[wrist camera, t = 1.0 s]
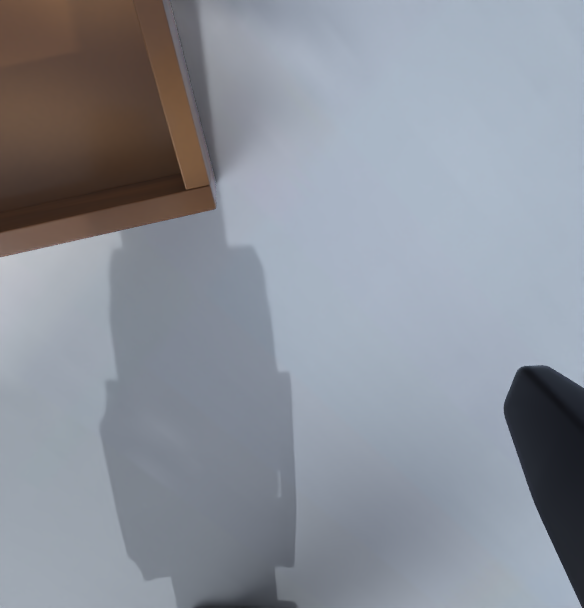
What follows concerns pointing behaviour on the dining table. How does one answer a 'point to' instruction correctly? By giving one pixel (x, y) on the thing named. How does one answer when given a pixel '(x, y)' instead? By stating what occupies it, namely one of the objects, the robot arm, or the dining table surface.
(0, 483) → the dining table surface
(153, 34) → the crate
